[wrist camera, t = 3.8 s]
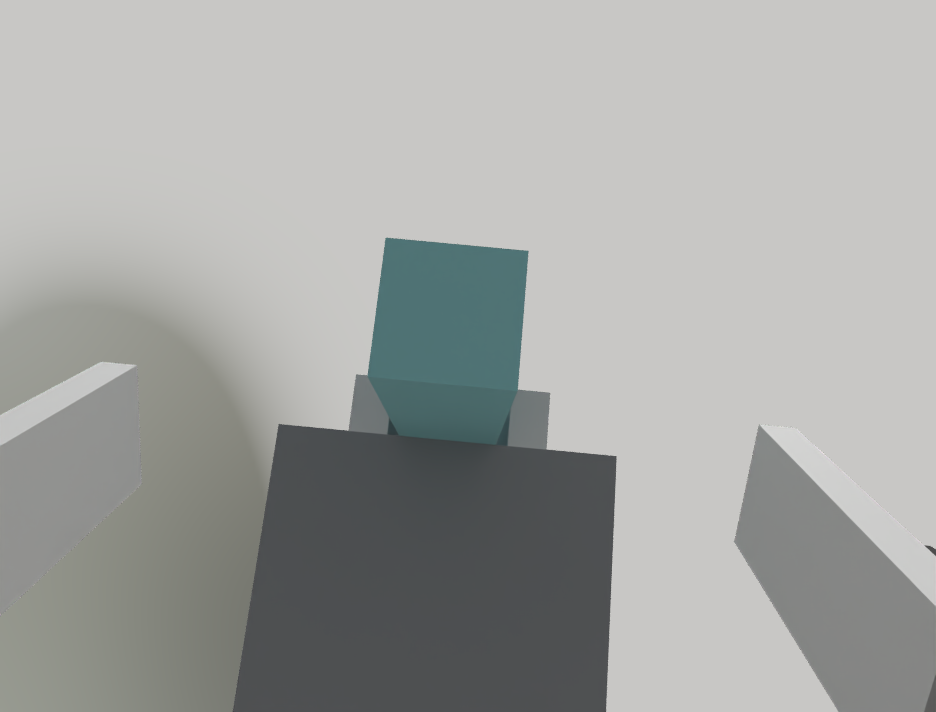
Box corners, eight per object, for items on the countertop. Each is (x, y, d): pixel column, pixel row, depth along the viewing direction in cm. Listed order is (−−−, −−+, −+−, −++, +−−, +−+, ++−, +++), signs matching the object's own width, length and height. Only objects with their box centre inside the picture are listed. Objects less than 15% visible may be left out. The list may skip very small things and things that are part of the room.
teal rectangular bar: (517, 391, 19) (528, 251, 20) (367, 376, 19) (385, 237, 20) (482, 476, 44) (488, 412, 45) (417, 470, 44) (424, 406, 45)
